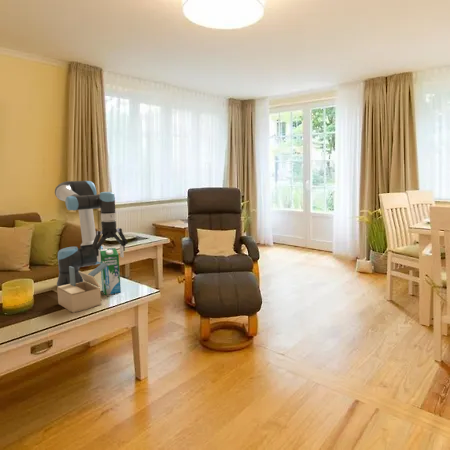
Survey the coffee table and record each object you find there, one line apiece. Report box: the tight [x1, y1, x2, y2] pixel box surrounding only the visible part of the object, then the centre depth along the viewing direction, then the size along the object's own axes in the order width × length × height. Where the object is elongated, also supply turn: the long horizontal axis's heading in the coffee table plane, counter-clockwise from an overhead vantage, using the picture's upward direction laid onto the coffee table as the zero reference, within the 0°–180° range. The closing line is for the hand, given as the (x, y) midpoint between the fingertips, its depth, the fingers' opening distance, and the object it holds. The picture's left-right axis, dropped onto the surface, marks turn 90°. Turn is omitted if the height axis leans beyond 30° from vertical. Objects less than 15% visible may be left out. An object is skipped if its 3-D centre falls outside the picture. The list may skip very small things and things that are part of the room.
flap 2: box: [78, 263, 108, 288], centre depth 197 cm, size 17×7×10 cm
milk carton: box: [99, 247, 122, 296], centre depth 210 cm, size 9×9×25 cm
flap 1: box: [57, 266, 85, 295], centre depth 187 cm, size 17×7×10 cm, turn 46°
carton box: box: [56, 281, 102, 314], centre depth 191 cm, size 18×15×9 cm
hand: (110, 259), depth 197 cm, fingers open, 13 cm apart
